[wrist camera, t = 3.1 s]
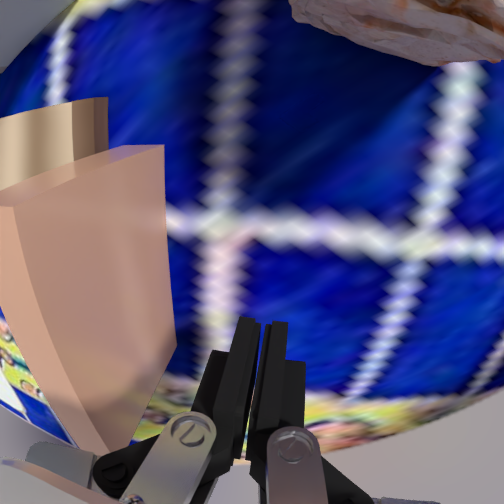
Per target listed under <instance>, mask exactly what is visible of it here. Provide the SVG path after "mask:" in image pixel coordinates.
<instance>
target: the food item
mask: <svg viewBox="0 0 504 504" xmlns="http://www.w3.org/2000/svg"><path fill="white" fill-rule="evenodd" d="M288 1H289V4H290V5H291V6H292V17H293V18H294V19H295V21H296V22H299V23H309V24H311V25H313V26H314V27H317V28H320V29H323V30H325V31H327V32H329V33H331V34H333V35H339V36H344V37H346V38H348V39H349V40H351V41H353V42H355V43H356V44H359V45H362V46H365V47H368V48H371V49H374V50H377V51H380V52H383V53H388V54H392V55H396V56H399V57H403V58H406V59H409V60H412V61H415V62H418V63H421V64H423V65H429V66H442V65H445V64H448V63H451V62H469V61H477V60H488V61H490V62H492V63H496V62H500V59H504V0H288Z"/></svg>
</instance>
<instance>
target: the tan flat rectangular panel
mask: <svg viewBox="0 0 504 504" xmlns="http://www.w3.org/2000/svg"><path fill="white" fill-rule="evenodd" d="M73 161H74V157H73V139H72V102H69V103H64V104H58V105H53V106H49V107H44V108H39V109H35V110H31V111H27V112H23V113H19V114H15V115H11V116H7V117H4V118H0V191H1V190H3V189H5V188H7V187H10V186H12V185H14V184H17V183H19V182H21V181H24V180H26V179H28V178H31V177H33V176H36V175H38V174H41V173H43V172H46V171H49V170H51V169H54V168H57V167H59V166H62V165H65V164H67V163H70V162H73Z"/></svg>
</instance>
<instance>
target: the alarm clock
mask: <svg viewBox="0 0 504 504" xmlns="http://www.w3.org/2000/svg"><path fill="white" fill-rule="evenodd" d="M74 1H75V0H0V73H3V72H4V70H5V69H6V68H7V67H8V66H9V64H10V63H11V62H12V61H13V60H14V59H15V58H16V56H17V55H18V54H19V53H20V52H21V51H22V50H23V49H24V48H25V47H26V46H27V44H28V43H29V42H30V41H31V40H32V39H33V38H34V37H35V36H36V35H37V34H38V33H39V32H40V31H41V30H42V29H43V28H44V27H45V26H47V25H48V24H49V23H50V22H51V21H52V20H53V19H54V18H55V17H56V16H57V15H59V14H60V13H61V12H62V11H63V10H64V9H65V8H67V7H68V6H69V5H70V4H71V3H73V2H74Z"/></svg>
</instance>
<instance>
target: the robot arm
mask: <svg viewBox="0 0 504 504" xmlns="http://www.w3.org/2000/svg"><path fill="white" fill-rule="evenodd" d="M260 330H261V323H255V318H248V317H241V316H240V317H239V320H238V323H237V327H236V330H235V334H234V337H233V341H232V344H231V348H230V351H229V352H223V351H217V350H212V352H211V354H210V357H209V360H208V363H207V366H206V368H205V371H204V374H203V377H202V380H201V383H200V386H199V388H198V391H197V394H196V397H195V400H194V403H193V406H192V408H191V411H189V412H182V413H179V414H177V415H175V416H174V417H172V418H171V419H170V420H169V421H168V423H167V424H166V426H165V427H164V429H163V431H162V432H161V434H158V435H156V436H154V437H151V438H149V439H146V440H143V441H141V442H138V443H136V444H133V445H130V446H128V447H125V448H122V449H119V450H117V451H114V452H111V453H108V454H105V455H104V456H100V455H95V453H94V452H90V451H84V450H79V449H74V448H70V447H65V446H61V445H56V444H52V443H48V442H38V443H35V444H34V445H32V446H31V447H30V449H29V451H28V453H27V456H26V459H25V461H24V460H19V459H15V458H9V457H0V504H207V503H208V501H209V499H210V497H211V494H212V492H213V490H214V488H215V485H216V483H217V481H218V478H219V476H221V475H223V474H225V473H227V472H228V471H229V470H230V466H233V461H234V458H235V459H240V458H241V453H242V448H243V443H244V438H245V433H246V428H247V422H248V417H249V412H250V418H249V428H248V438H247V448H246V458H245V460H248V461H251V466H250V473H249V474H250V475H251V476H252V478H253V479H254V480H255V481H256V482H257V483H258V495H259V504H440V503H438V502H434V501H417V500H404V499H394V498H386V497H382V498H381V499H377V498H371V497H370V496H369V495H368V494H367V493H365V492H364V491H363V490H362V489H360V488H359V487H358V486H357V485H355V484H354V483H353V482H352V481H350V480H349V479H348V478H347V477H346V476H344V475H343V474H342V473H341V472H340V471H338V470H337V469H336V468H335V467H334V466H333V465H331V464H330V463H329V462H328V461H327V460H326V459H324V458H323V457H322V456H321V453H320V447H319V443H318V440H317V438H316V437H315V436H314V435H313V433H311V432H310V431H308V430H307V429H304V411H305V377H306V363H305V362H302V361H292V360H285V357H286V345H287V332H288V322H281V321H273V322H272V325H270V324H266V326H265V332H264V338H263V344H262V350H261V355H260V361H259V367H258V372H257V378H256V370H257V360H258V350H259V340H260ZM255 379H256V383H255ZM254 385H255V389H254ZM253 390H254V394H253ZM252 396H253V400H252ZM251 401H252V405H251ZM250 407H251V411H250Z"/></svg>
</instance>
